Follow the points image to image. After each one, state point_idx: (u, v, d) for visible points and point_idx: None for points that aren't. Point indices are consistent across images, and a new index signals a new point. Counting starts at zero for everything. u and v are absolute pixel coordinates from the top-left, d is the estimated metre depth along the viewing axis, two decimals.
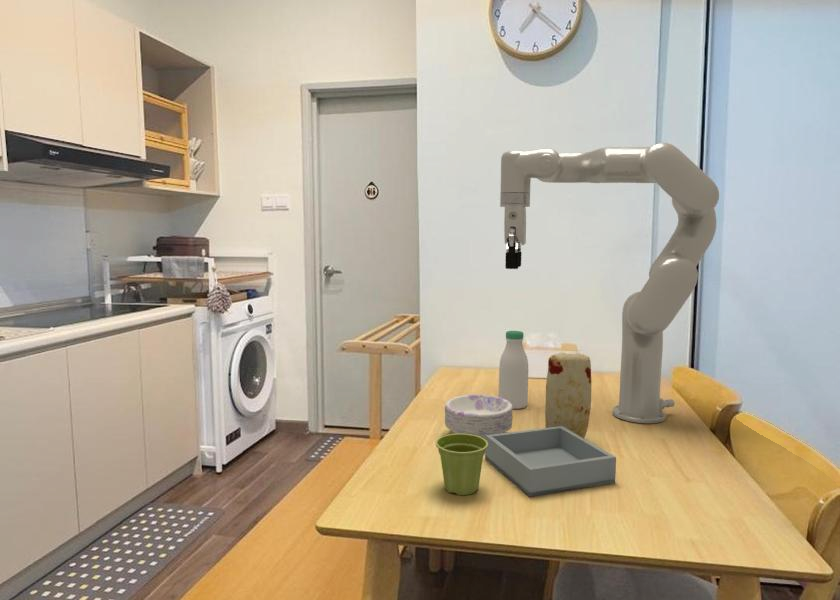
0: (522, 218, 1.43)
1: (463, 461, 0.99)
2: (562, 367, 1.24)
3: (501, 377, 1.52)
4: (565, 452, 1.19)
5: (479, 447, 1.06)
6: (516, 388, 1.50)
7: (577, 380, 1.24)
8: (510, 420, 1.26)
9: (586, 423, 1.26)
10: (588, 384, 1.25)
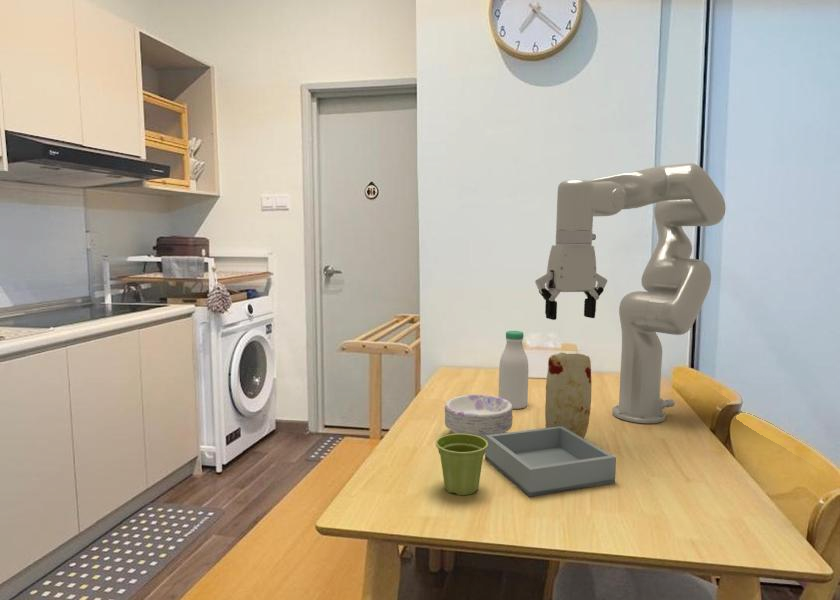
0: None
1: (463, 461, 0.99)
2: (562, 367, 1.24)
3: (501, 377, 1.52)
4: (565, 452, 1.19)
5: (479, 447, 1.06)
6: (516, 388, 1.50)
7: (577, 380, 1.24)
8: (510, 420, 1.26)
9: (586, 423, 1.26)
10: (588, 384, 1.25)
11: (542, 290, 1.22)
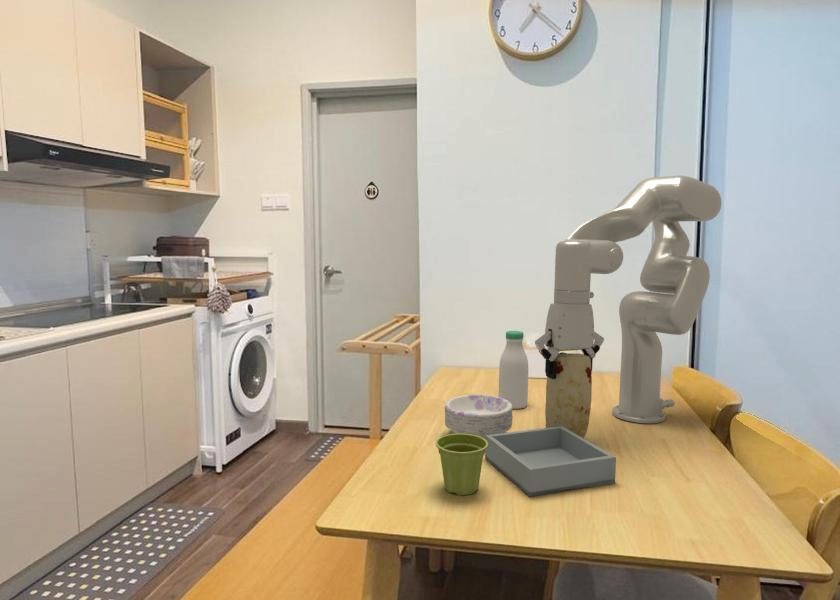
0: None
1: (463, 461, 0.99)
2: (562, 367, 1.25)
3: (501, 377, 1.52)
4: (565, 452, 1.19)
5: (479, 447, 1.06)
6: (516, 388, 1.50)
7: (578, 380, 1.24)
8: (510, 420, 1.26)
9: (586, 423, 1.26)
10: (589, 384, 1.25)
11: (542, 351, 1.23)
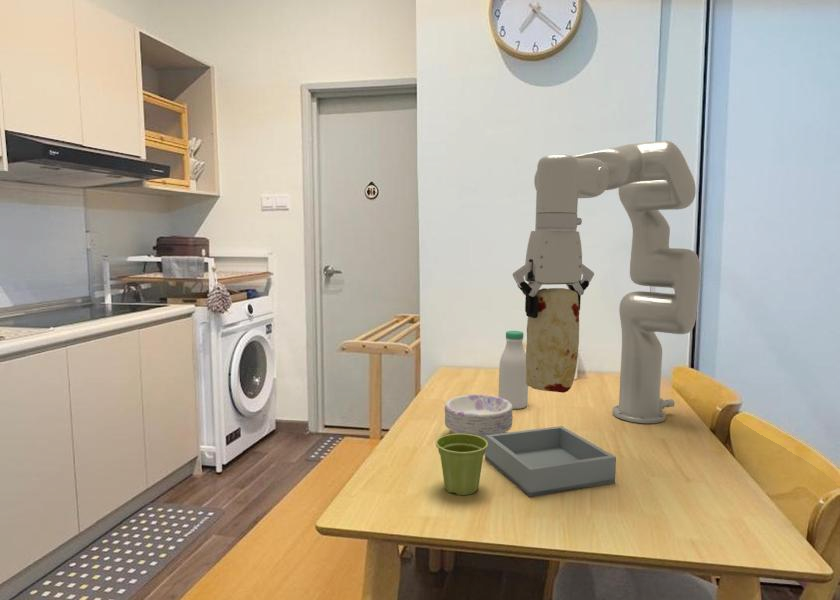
0: None
1: (463, 461, 0.99)
2: (545, 303, 1.07)
3: (501, 377, 1.52)
4: (565, 452, 1.19)
5: (479, 447, 1.06)
6: (516, 388, 1.50)
7: (563, 318, 1.06)
8: (510, 420, 1.26)
9: (573, 369, 1.08)
10: (575, 323, 1.07)
11: (521, 284, 1.06)
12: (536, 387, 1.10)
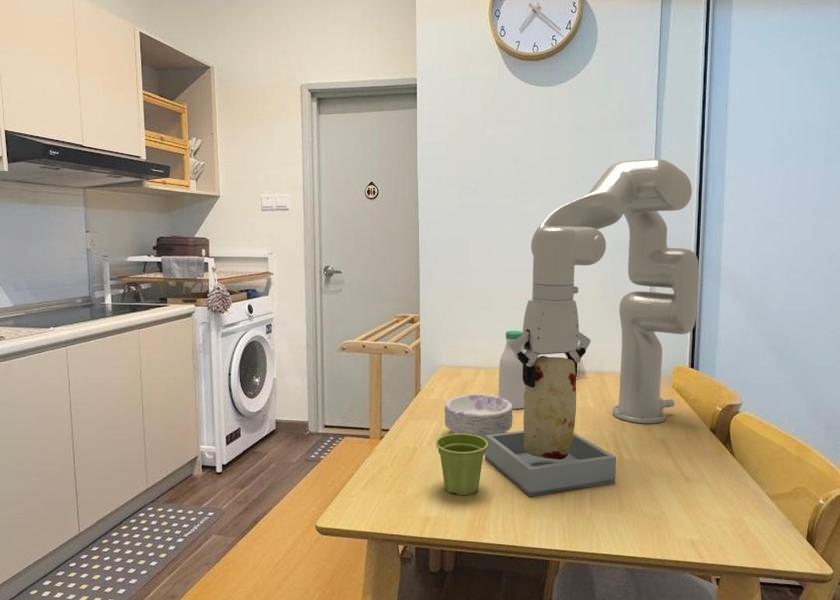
0: None
1: (463, 461, 0.99)
2: (542, 373, 1.08)
3: (501, 377, 1.52)
4: None
5: (479, 447, 1.06)
6: (516, 388, 1.50)
7: (560, 388, 1.07)
8: (510, 420, 1.26)
9: (570, 437, 1.09)
10: (572, 392, 1.08)
11: (518, 354, 1.07)
12: (534, 454, 1.11)
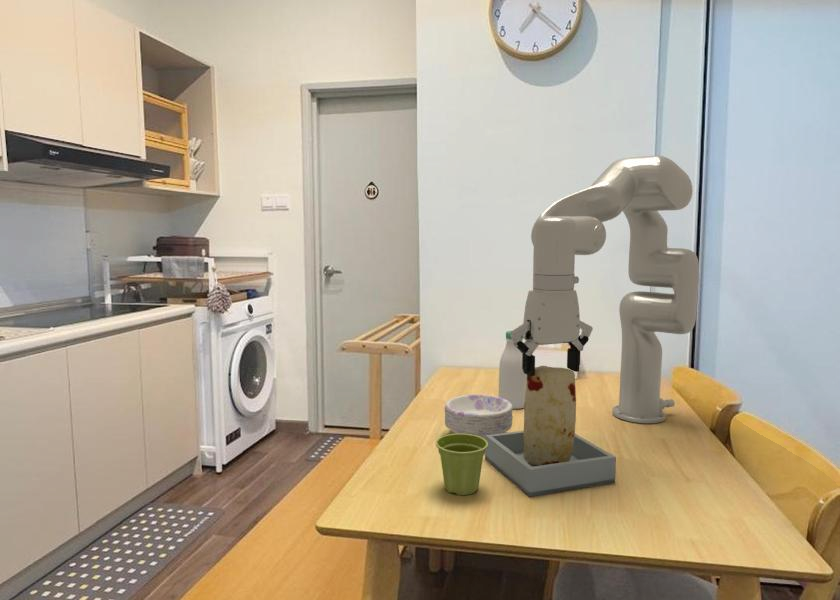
0: None
1: (464, 461, 0.99)
2: (542, 383, 1.08)
3: (501, 377, 1.52)
4: None
5: (479, 447, 1.06)
6: (516, 388, 1.50)
7: (559, 398, 1.07)
8: (510, 420, 1.26)
9: (570, 447, 1.10)
10: (572, 402, 1.08)
11: (518, 343, 1.07)
12: (534, 463, 1.11)
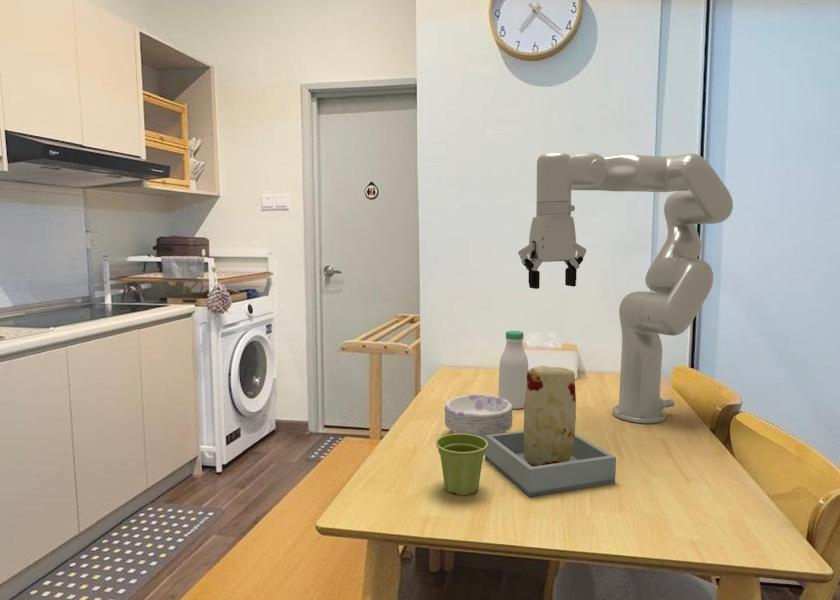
0: None
1: (464, 461, 0.99)
2: (542, 383, 1.08)
3: (501, 377, 1.52)
4: None
5: (479, 447, 1.06)
6: (516, 388, 1.50)
7: (559, 398, 1.08)
8: (510, 420, 1.26)
9: (570, 447, 1.10)
10: (572, 402, 1.08)
11: (525, 260, 1.26)
12: (534, 463, 1.11)
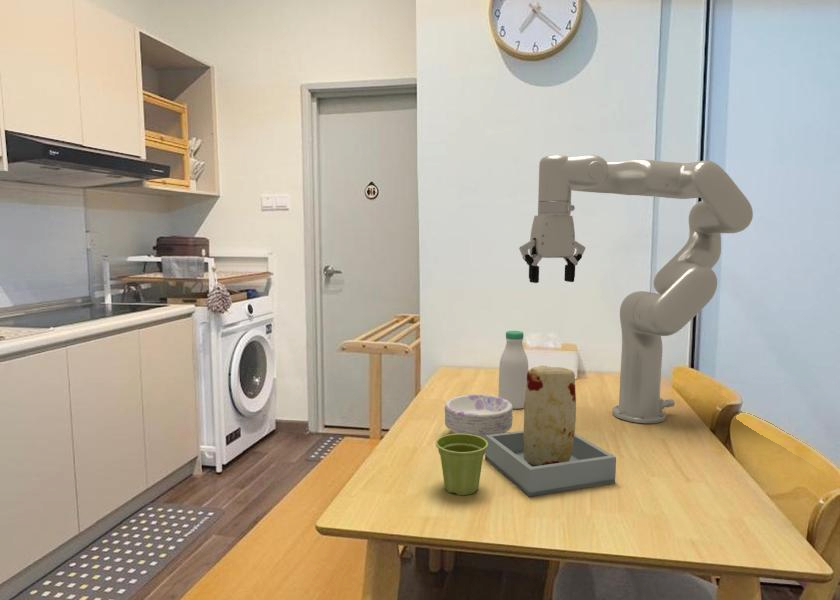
0: None
1: (463, 461, 0.99)
2: (542, 383, 1.08)
3: (501, 377, 1.52)
4: None
5: (479, 447, 1.06)
6: (516, 388, 1.50)
7: (559, 398, 1.08)
8: (510, 420, 1.26)
9: (570, 447, 1.10)
10: (572, 402, 1.08)
11: (525, 256, 1.34)
12: (534, 463, 1.11)
